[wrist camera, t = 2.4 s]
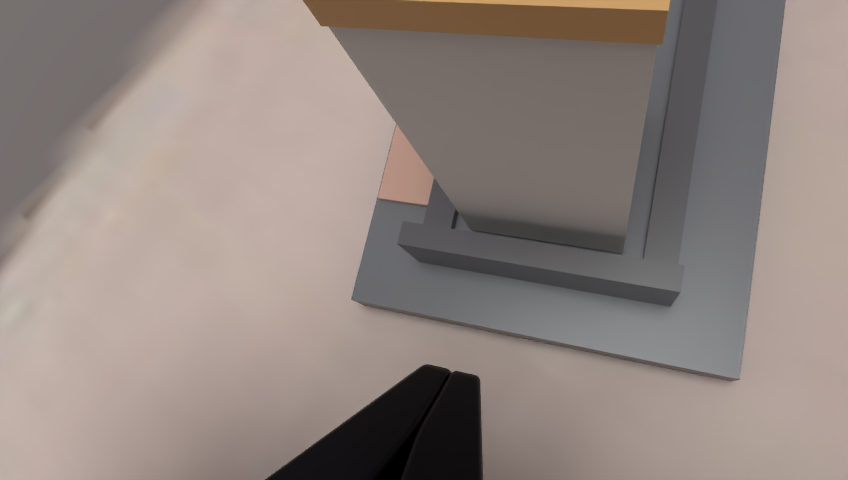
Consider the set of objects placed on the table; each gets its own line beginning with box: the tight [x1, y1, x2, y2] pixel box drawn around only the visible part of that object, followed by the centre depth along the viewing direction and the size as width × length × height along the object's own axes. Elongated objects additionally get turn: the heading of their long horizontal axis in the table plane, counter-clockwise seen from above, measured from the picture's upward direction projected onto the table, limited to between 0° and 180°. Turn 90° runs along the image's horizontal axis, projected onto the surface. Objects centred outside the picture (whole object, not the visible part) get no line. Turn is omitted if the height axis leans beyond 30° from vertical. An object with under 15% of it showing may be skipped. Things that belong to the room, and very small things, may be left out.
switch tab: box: [303, 0, 670, 253], centre depth 12 cm, size 4×4×10 cm
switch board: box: [351, 0, 786, 381], centre depth 17 cm, size 14×10×3 cm
